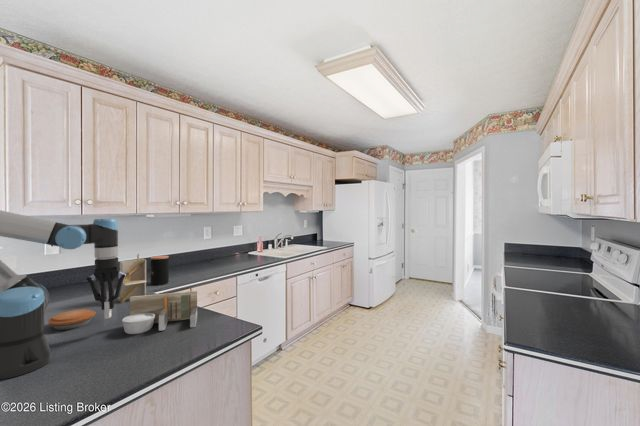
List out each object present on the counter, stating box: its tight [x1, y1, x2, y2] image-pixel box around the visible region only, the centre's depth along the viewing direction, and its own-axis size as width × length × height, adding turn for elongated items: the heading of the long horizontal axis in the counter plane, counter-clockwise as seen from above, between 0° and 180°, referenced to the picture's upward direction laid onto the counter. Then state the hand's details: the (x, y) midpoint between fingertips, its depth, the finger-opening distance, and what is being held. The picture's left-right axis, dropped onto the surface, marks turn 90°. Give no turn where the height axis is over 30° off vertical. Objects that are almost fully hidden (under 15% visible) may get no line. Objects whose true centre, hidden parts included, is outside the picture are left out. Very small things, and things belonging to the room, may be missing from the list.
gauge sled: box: [158, 296, 169, 332], centre depth 122 cm, size 10×2×11 cm, turn 20°
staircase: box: [118, 253, 148, 303], centre depth 158 cm, size 8×12×26 cm
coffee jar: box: [150, 255, 170, 286], centre depth 195 cm, size 11×11×18 cm
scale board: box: [129, 290, 198, 324], centre depth 127 cm, size 1×26×12 cm, turn 110°
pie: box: [47, 308, 96, 331], centre depth 124 cm, size 16×16×5 cm
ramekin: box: [121, 313, 155, 335], centre depth 119 cm, size 11×11×5 cm
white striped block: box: [189, 307, 198, 328], centre depth 125 cm, size 10×2×5 cm, turn 20°
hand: (108, 317), depth 115 cm, fingers closed
